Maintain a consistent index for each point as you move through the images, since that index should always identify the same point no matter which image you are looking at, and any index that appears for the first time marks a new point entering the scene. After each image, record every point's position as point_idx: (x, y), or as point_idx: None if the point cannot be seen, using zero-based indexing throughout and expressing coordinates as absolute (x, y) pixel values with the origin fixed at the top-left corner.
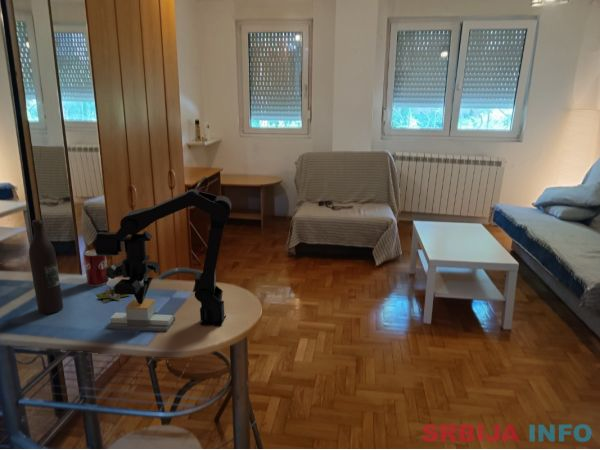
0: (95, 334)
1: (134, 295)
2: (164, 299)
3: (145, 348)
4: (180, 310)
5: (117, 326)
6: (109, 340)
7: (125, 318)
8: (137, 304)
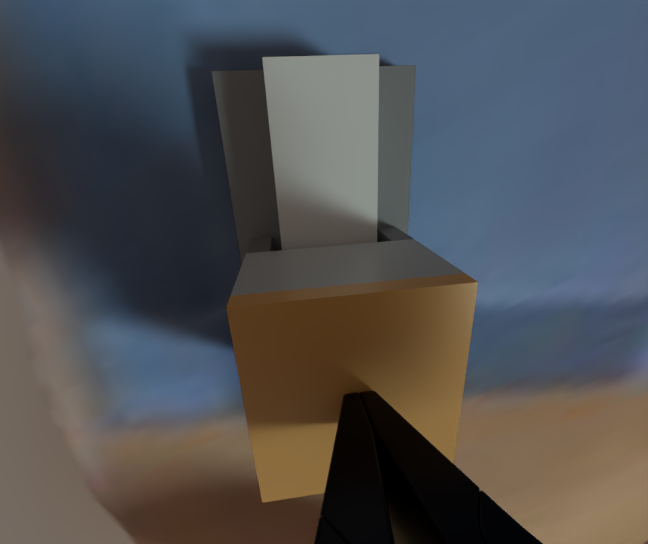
0: (91, 11)
1: (321, 508)
2: (644, 270)
3: (80, 432)
4: (493, 406)
5: (226, 163)
6: (62, 192)
7: (281, 215)
8: (320, 395)
